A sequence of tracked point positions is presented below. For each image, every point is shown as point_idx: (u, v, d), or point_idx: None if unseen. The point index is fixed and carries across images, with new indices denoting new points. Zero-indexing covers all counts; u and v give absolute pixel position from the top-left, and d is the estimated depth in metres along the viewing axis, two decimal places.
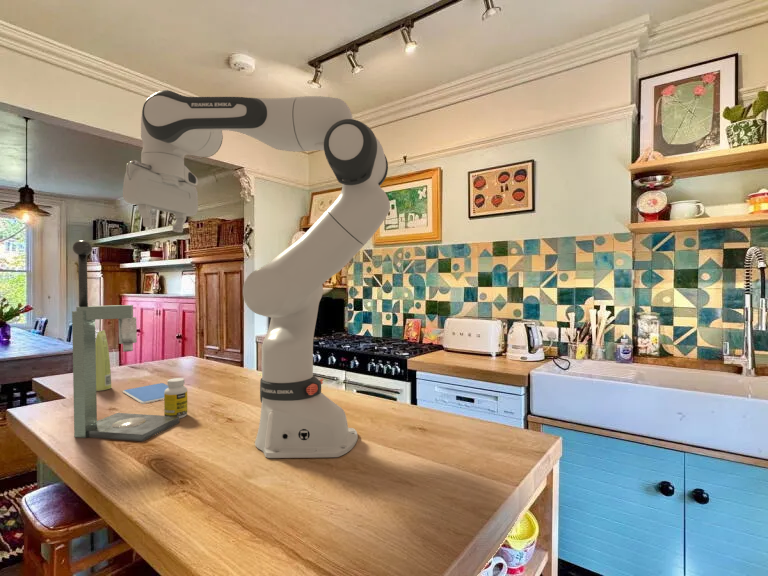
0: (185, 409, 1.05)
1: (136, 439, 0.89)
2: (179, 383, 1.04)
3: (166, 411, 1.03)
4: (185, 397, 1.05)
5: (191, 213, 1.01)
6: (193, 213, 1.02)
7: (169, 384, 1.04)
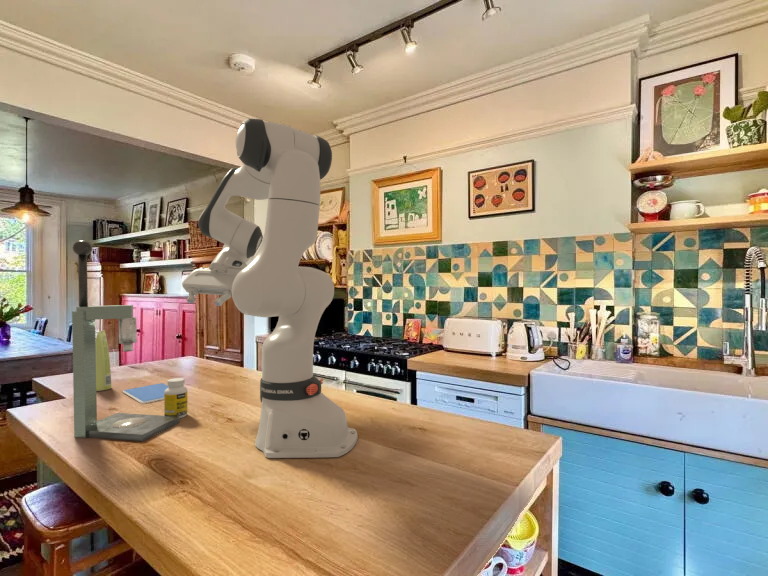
0: (185, 409, 1.05)
1: (136, 439, 0.89)
2: (179, 383, 1.04)
3: (166, 411, 1.03)
4: (185, 397, 1.05)
5: (231, 287, 1.15)
6: None
7: (169, 384, 1.04)
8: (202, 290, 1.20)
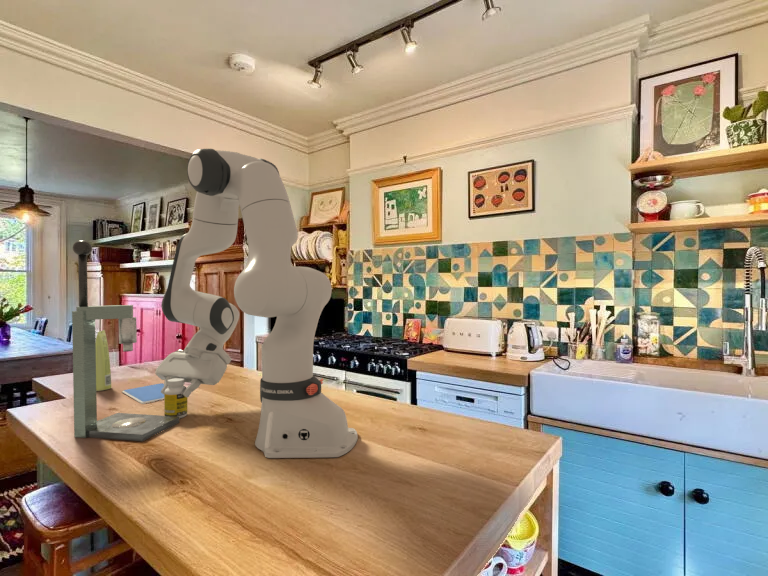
0: (185, 409, 1.05)
1: (136, 439, 0.89)
2: (179, 383, 1.04)
3: (166, 411, 1.03)
4: (185, 397, 1.05)
5: (203, 377, 1.04)
6: (205, 376, 1.04)
7: (169, 384, 1.04)
8: (176, 377, 1.10)
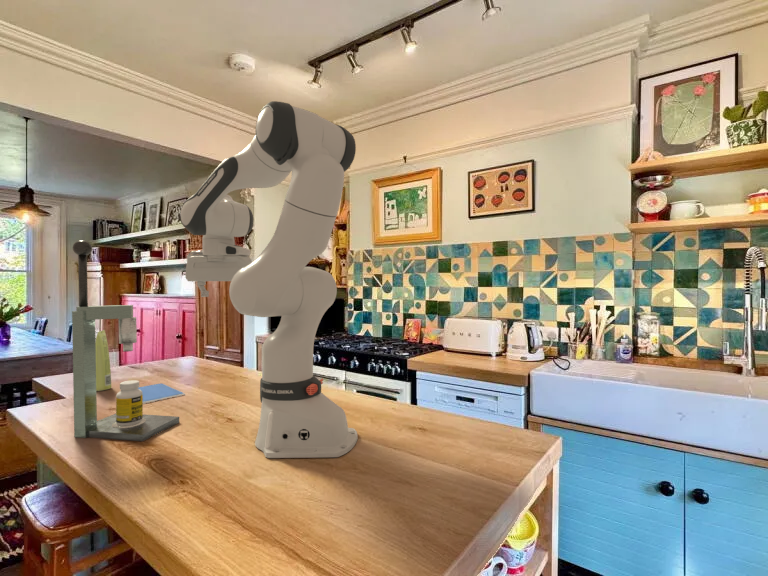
0: (141, 414, 0.97)
1: (136, 439, 0.89)
2: (134, 385, 0.95)
3: (119, 417, 0.94)
4: (141, 401, 0.97)
5: None
6: None
7: (122, 387, 0.95)
8: None
